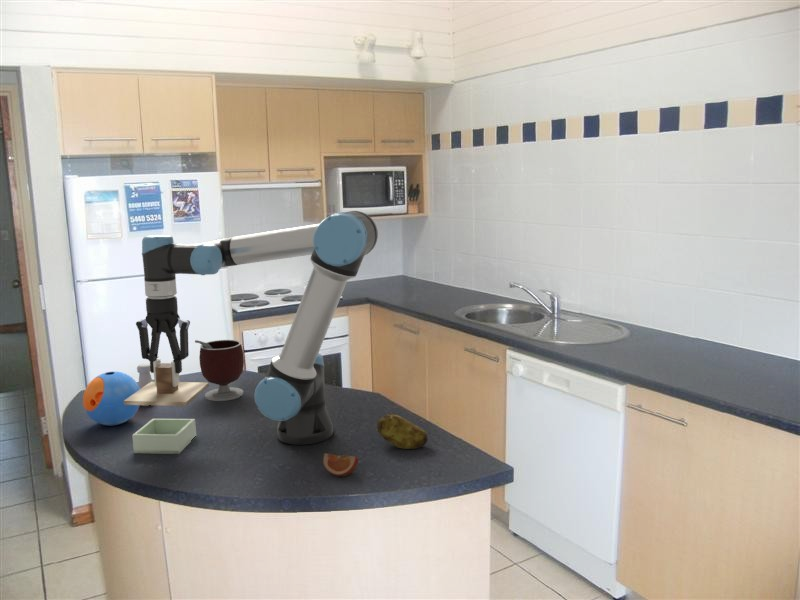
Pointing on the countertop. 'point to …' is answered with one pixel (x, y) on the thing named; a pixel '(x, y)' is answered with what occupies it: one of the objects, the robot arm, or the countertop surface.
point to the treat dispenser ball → (110, 398)
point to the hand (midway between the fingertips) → (167, 384)
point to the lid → (166, 390)
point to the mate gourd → (222, 367)
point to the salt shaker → (144, 375)
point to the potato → (401, 432)
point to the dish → (164, 436)
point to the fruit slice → (340, 464)
